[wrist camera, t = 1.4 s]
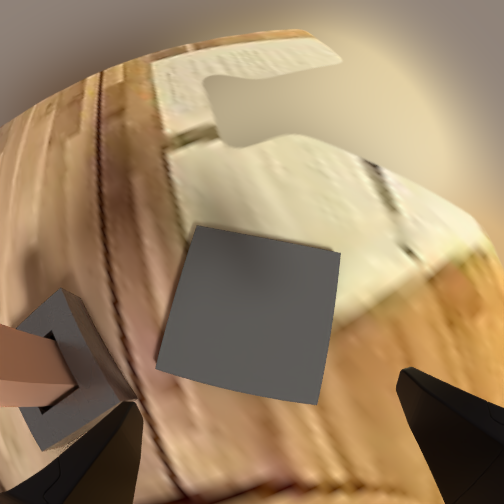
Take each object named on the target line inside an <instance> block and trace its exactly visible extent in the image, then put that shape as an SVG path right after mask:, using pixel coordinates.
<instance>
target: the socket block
mask: <svg viewBox="0 0 504 504" xmlns="http://www.w3.org/2000/svg"><path fill="white" fill-rule="evenodd" d="M16 329H17V330H20V331H23V332H27V333H30V334H33V335H37V336H40V337H44V338H48V339H51V340H55V341H57V343H58V346H59V348H60V350H61V352H62V354H63V356H64V358H65V361H66V363H67V365H68V367H69V369H70V371H71V373H72V375H73V376H74V378H75V380H76V382H77V384H78V386H79V389H77V390H76V391H74V392H73V393H72V394H70V395H69V396H68V397H66V398H65V399H63V400H62V401H61V402H59V403H58V404H57V405H55V406H38V407H19V409H20V411H21V413H22V415H23V417H24V419H25V421H26V423H27V425H28V427H29V429H30V431H31V433H32V435H33V437H34V438H35V440H36V442H37V444H38V446H39V447H40V449H41V451H47V450H51V449H55V448H58V447H62V446H64V445H66V444H68V443H69V442H71V441H73V440H74V439H76V438H77V437H79V436H81V435H82V434H84V433H86V432H87V431H89V430H90V429H91V428H93V427H94V426H95V425H96V424H97V423H98V422H99V421H101V420H102V419H103V418H104V417H105V416H106V415H108V414H109V413H110V412H111V411H112V410H113V409H114V408H116V407H117V406H118V405H119V404H120V403H121V402H123V401H135V400H136V399H138V398H137V397H136V395H135V394H134V392H133V391H132V389H131V388H130V386H129V385H128V383H127V382H126V380H125V379H124V377H123V375H122V374H121V372H120V371H119V369H118V367H117V366H116V364H115V362H114V361H113V359H112V357H111V356H110V354H109V352H108V350H107V349H106V347H105V345H104V343H103V341H102V340H101V338H100V336H99V334H98V332H97V330H96V328H95V326H94V324H93V322H92V321H91V319H90V317H89V315H88V312H87V310H86V308H85V306H84V304H83V302H82V300H81V298H79V297H77V296H76V295H74V294H72V293H70V292H68V291H66V290H64V289H63V288H60V289H59V290H58V291H56V292H55V293H54V294H53V295H52V296H51V297H49V298H48V299H47V300H46V301H45V302H44V303H43V304H42V305H41V306H39V307H38V308H37V309H36V310H35V311H34V312H33V313H32V314H31V315H30V316H29V317H27V318H26V319H25V320H24V321H23V322H22V323H21V324H20V325H19V326H18V327H17V328H16Z"/></svg>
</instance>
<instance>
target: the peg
mask: <svg viewBox="0 0 504 504" xmlns="http://www.w3.org/2000/svg"><path fill="white" fill-rule="evenodd" d="M77 389H79V386H78V384H77V382H76V380H75V378H74V376H73V375H72V373H71V371H70V369H69V367H68V365H67V363H66V361H65V358H64V356H63V354H62V352H61V350H60V348H59V346H58V343H57V341H55V340H51V339H48V338H44V337H40V336H37V335H33V334H30V333H27V332H23V331H20V330H17V329H14V328H11V327H8V326H5V325H2V324H0V407H38V406H55V405H57V404H58V403H59V402H61V401H62V400H63V399H65V398H66V397H68V396H69V395H70V394H72V393H73V392H74V391H76V390H77Z"/></svg>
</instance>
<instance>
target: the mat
mask: <svg viewBox="0 0 504 504" xmlns="http://www.w3.org/2000/svg"><path fill="white" fill-rule="evenodd" d="M340 255H341V253H338V252H333V251H328V250H323V249H318V248H313V247H308V246H303V245H298V244H293V243H287V242H282V241H277V240H272V239H267V238H262V237H256V236H251V235H246V234H241V233H235V232H230V231H225V230H219V229H214V228H208V227H203V226H198V225H197V227H196V230H195V233H194V236H193V239H192V242H191V245H190V248H189V251H188V254H187V257H186V260H185V264H184V267H183V270H182V273H181V277H180V280H179V283H178V287H177V290H176V293H175V297H174V300H173V304H172V307H171V311H170V314H169V318H168V322H167V325H166V329H165V333H164V336H163V340H162V344H161V348H160V352H159V356H158V360H157V364H156V368H155V369H157V370H160V371H163V372H166V373H170V374H173V375H176V376H180V377H183V378H186V379H190V380H193V381H197V382H201V383H204V384H208V385H212V386H216V387H220V388H224V389H229V390H233V391H237V392H242V393H247V394H252V395H257V396H262V397H267V398H273V399H278V400H284V401H291V402H297V403H304V404H312V405H317V403H318V398H319V394H320V389H321V384H322V379H323V374H324V369H325V363H326V358H327V352H328V346H329V340H330V334H331V328H332V321H333V314H334V307H335V299H336V292H337V283H338V275H339V265H340Z"/></svg>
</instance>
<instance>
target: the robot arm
mask: <svg viewBox="0 0 504 504" xmlns="http://www.w3.org/2000/svg"><path fill="white" fill-rule="evenodd" d="M396 392H397V395H398V397H399V400H400V403H401V405H402V408H403V411H404V414H405V416H406V419H407V422H408V424H409V427H410V429H411V431H412V433H413V435H414V437H415V439H416V441H417V443H418V445H419V447H420V449H421V451H422V453H423V456H424V458H425V460H426V462H427V464H428V466H429V468H430V471H431V473H432V475H433V477H434V479H435V482H436V484H437V486H438V488H439V491H440V493H441V495H442V498H443V500H444V502H445V504H504V408H503V407H500V406H498V405H495V404H493V403H490V402H487V401H486V400H483V399H481V398H479V397H477V396H474V395H472V394H470V393H468V392H465V391H463V390H461V389H459V388H457V387H454V386H452V385H450V384H448V383H446V382H444V381H441V380H439V379H437V378H435V377H433V376H431V375H428V374H426V373H424V372H422V371H420V370H418V369H416V368H414V367H408V368H405V369H402V370H401V371H400V374H399V378H398V381H397V385H396ZM142 433H143V417H142V415H141V413H140V411H139V409H138V407H137V405H136V403H135V402H133V401H123V402H121V403H120V404H119V405H118V406H117V407H116V408H114V409H113V410H112V411H111V412H110V413H109V414H108V415H106V416H105V417H104V418H103V419H102V420H101V421H99V422H98V423H97V424H96V425H95V426H94V427H93V428H91V429H90V430H89V431H88V432H87V433H86V434H84V435H83V436H82V437H81V438H80V439H78V440H77V441H76V442H75V443H74V444H73V445H71V446H70V447H69V448H68V449H67V450H65V451H64V452H63V453H62V454H61V455H60V456H59V457H57V458H56V459H55V460H53V461H52V462H51V463H50V464H48V465H47V466H46V467H45V468H43V469H42V470H41V471H39V472H38V473H36V474H35V475H33V476H32V477H30V478H28V479H27V480H25V481H24V482H22V483H20V484H19V485H17V486H16V487H14V488H12V489H10V490H9V491H6V492H2V493H0V504H133V498H134V492H135V486H136V481H137V475H138V470H139V465H140V458H141V445H142Z"/></svg>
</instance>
